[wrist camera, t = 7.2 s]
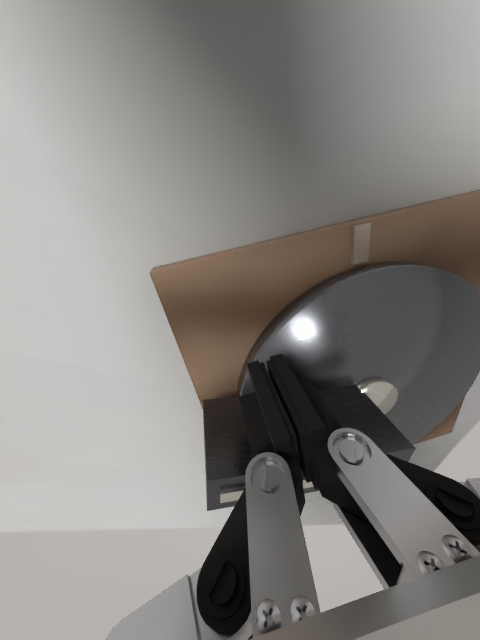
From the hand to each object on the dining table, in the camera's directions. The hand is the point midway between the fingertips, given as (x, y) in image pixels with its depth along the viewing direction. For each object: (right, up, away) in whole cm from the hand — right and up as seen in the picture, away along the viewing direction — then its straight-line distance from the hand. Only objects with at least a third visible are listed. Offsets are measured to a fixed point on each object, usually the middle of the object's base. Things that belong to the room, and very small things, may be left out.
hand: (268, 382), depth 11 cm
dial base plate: (+6, -1, +6) cm, 8 cm away
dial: (+5, -1, +4) cm, 7 cm away
